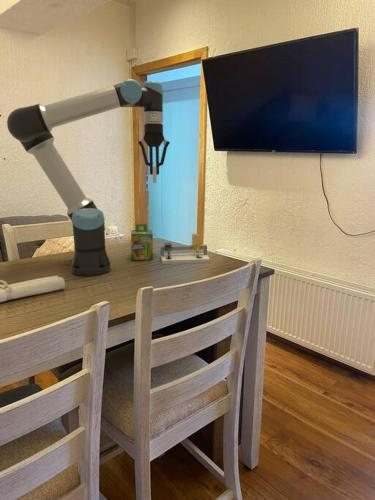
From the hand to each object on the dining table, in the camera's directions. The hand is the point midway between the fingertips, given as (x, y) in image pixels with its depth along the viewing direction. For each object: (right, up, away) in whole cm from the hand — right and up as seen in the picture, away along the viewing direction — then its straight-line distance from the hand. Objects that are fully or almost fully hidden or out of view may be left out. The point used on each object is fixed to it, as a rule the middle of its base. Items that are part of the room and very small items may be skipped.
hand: (154, 182), depth 160 cm
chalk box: (-6, -32, +7) cm, 33 cm away
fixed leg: (+5, -31, +4) cm, 32 cm away
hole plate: (+13, -32, +4) cm, 35 cm away
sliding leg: (+18, -30, +5) cm, 35 cm away
